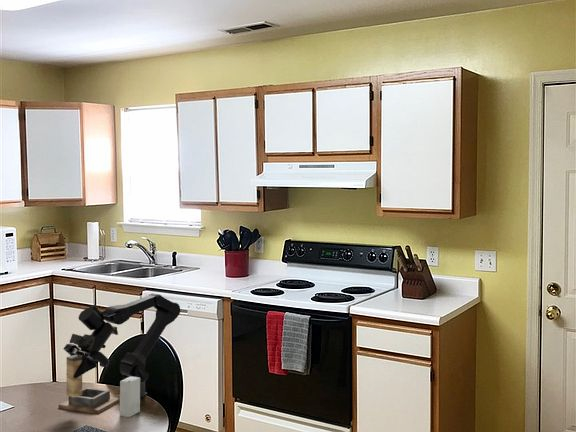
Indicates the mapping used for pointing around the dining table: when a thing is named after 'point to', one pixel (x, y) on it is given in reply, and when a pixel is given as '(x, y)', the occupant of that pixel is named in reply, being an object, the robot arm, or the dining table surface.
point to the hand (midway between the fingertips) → (70, 376)
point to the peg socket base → (90, 401)
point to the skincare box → (129, 396)
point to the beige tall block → (73, 383)
